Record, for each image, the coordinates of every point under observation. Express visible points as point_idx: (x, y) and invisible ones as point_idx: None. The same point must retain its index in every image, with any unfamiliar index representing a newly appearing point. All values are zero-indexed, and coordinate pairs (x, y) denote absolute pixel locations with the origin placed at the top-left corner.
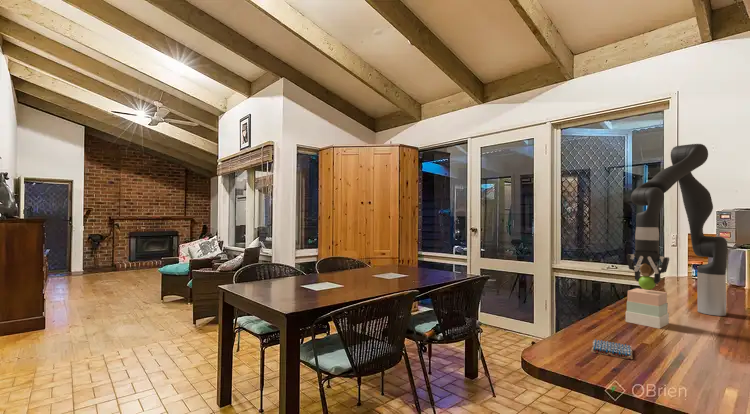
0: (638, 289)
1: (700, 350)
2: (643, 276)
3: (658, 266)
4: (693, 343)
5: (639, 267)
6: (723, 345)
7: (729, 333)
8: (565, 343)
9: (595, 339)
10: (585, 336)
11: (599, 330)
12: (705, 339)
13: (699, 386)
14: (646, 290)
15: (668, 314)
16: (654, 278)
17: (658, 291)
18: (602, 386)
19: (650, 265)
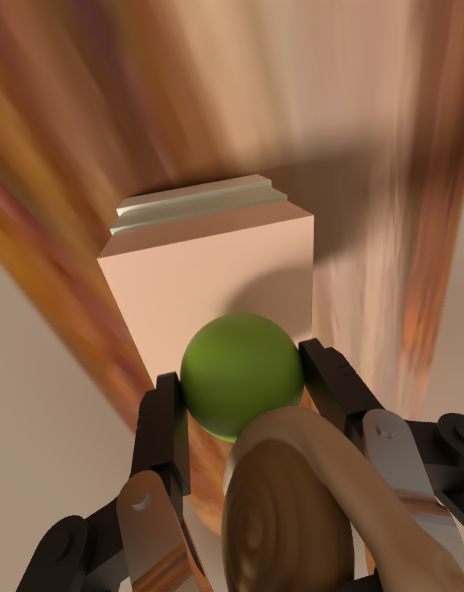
0: (149, 302)
1: (374, 366)
2: (234, 440)
3: (446, 512)
4: (360, 336)
5: (203, 567)
6: (413, 289)
7: (447, 95)
8: (221, 502)
9: None
10: (211, 468)
11: (196, 429)
12: (379, 275)
13: None
14: (199, 284)
15: (269, 183)
16: (318, 408)
17: (264, 238)
18: None
19: (349, 581)
